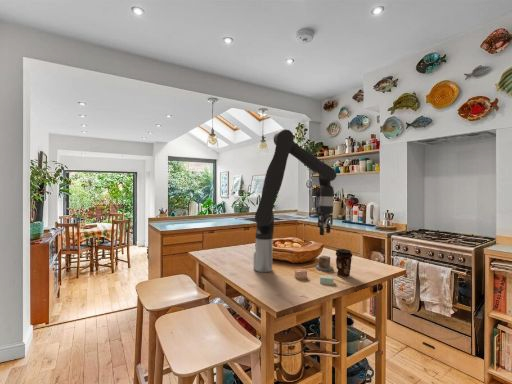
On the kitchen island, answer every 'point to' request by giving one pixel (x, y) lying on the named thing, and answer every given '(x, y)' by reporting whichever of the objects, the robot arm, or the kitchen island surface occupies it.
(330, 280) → the sage block
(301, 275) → the small brown block
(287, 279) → the kitchen island surface
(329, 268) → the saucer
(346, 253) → the coffee cup
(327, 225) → the robot arm
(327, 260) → the walnut block
